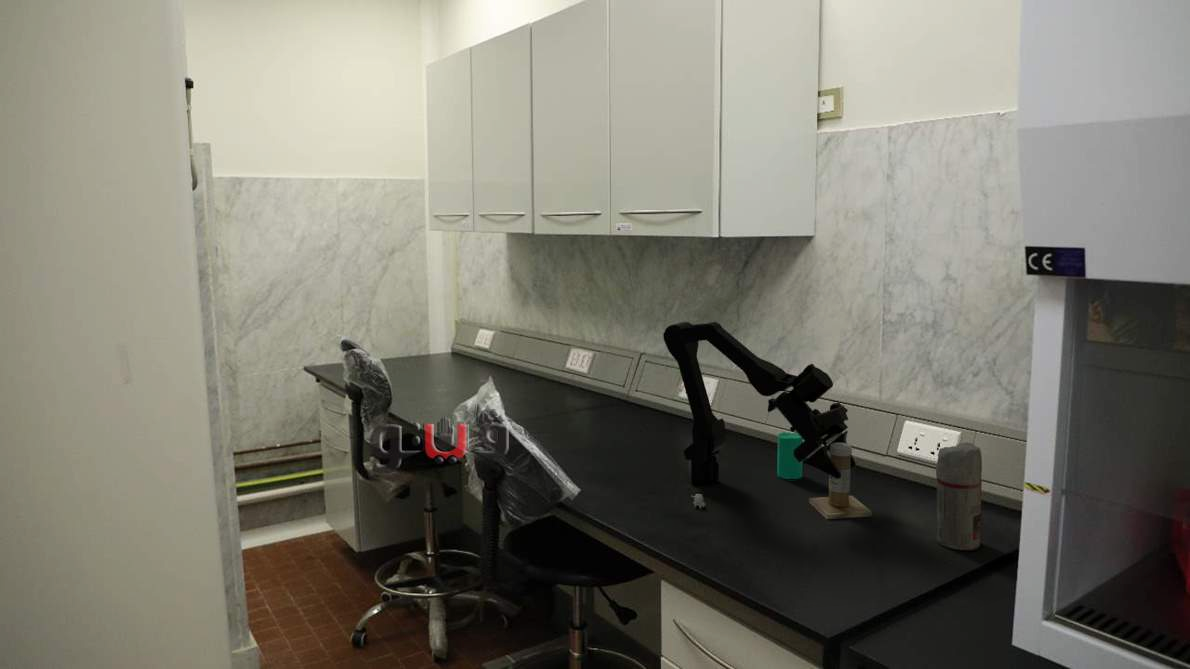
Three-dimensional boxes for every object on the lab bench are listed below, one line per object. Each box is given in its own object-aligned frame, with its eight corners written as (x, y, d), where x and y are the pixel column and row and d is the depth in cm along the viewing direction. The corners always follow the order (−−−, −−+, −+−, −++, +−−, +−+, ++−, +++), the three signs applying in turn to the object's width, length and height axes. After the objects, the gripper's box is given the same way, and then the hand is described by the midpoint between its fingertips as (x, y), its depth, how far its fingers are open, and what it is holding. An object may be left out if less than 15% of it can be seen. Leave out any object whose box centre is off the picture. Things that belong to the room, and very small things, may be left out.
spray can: (960, 555, 152) (966, 453, 149) (925, 540, 160) (929, 442, 156) (990, 546, 156) (996, 446, 153) (954, 532, 163) (959, 436, 160)
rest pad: (826, 519, 171) (826, 514, 171) (809, 502, 181) (809, 497, 181) (871, 516, 172) (871, 511, 172) (851, 499, 182) (851, 495, 182)
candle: (802, 480, 196) (803, 433, 194) (777, 479, 197) (778, 432, 195) (801, 473, 201) (802, 426, 200) (776, 471, 203) (777, 425, 201)
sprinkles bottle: (823, 502, 178) (825, 443, 176) (840, 499, 180) (842, 440, 178) (837, 509, 174) (839, 449, 172) (854, 505, 176) (856, 446, 173)
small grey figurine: (706, 507, 181) (706, 494, 180) (701, 511, 178) (701, 498, 178) (693, 505, 182) (693, 492, 182) (688, 509, 180) (688, 495, 179)
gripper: (808, 401, 168) (859, 461, 163) (840, 385, 183) (888, 439, 178) (772, 432, 174) (821, 491, 169) (806, 414, 188) (851, 468, 184)
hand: (847, 471), depth 175 cm, fingers open, 9 cm apart
